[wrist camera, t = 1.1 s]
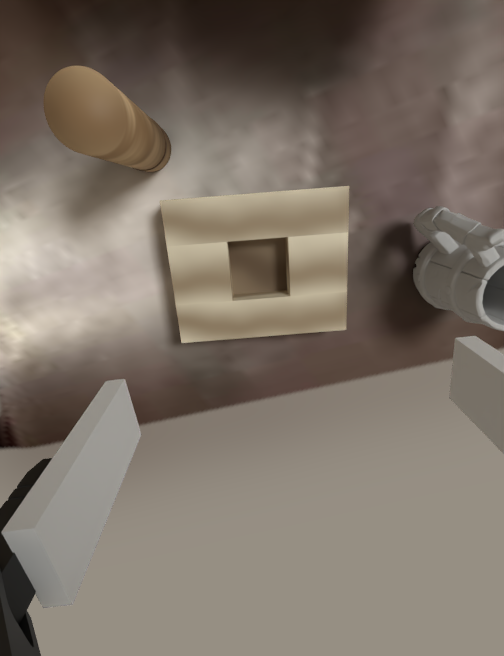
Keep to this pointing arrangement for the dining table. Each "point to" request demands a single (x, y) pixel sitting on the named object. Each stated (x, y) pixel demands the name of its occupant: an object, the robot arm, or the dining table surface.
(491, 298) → the mug
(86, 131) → the leg
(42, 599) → the robot arm
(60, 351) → the dining table surface
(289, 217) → the wooden block with hole
